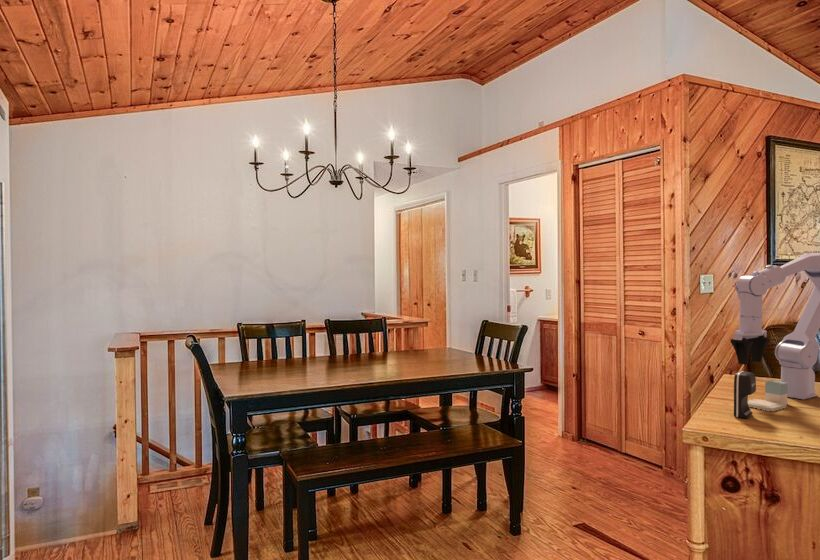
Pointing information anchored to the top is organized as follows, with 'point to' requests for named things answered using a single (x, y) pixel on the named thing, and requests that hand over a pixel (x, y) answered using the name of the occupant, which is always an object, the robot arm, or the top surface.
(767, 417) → the top surface
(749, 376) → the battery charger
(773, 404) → the plate
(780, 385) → the brick stack
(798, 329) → the robot arm
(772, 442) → the top surface
